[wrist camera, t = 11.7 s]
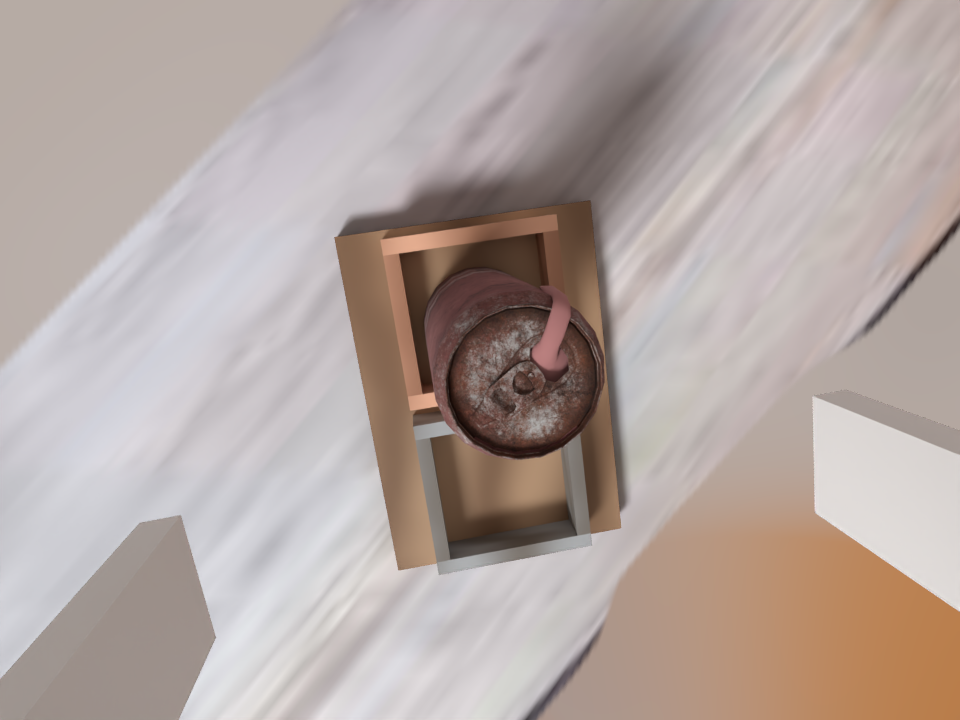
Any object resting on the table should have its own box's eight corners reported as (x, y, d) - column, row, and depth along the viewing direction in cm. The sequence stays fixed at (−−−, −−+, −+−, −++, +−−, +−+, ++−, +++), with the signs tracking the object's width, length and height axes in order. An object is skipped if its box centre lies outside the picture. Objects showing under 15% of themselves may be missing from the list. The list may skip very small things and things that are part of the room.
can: (545, 276, 33) (639, 310, 20) (515, 384, 35) (584, 485, 21) (439, 248, 32) (463, 264, 19) (412, 360, 34) (415, 450, 20)
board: (398, 559, 37) (397, 590, 34) (337, 236, 33) (329, 237, 30) (614, 519, 39) (632, 544, 35) (584, 201, 34) (601, 198, 31)
